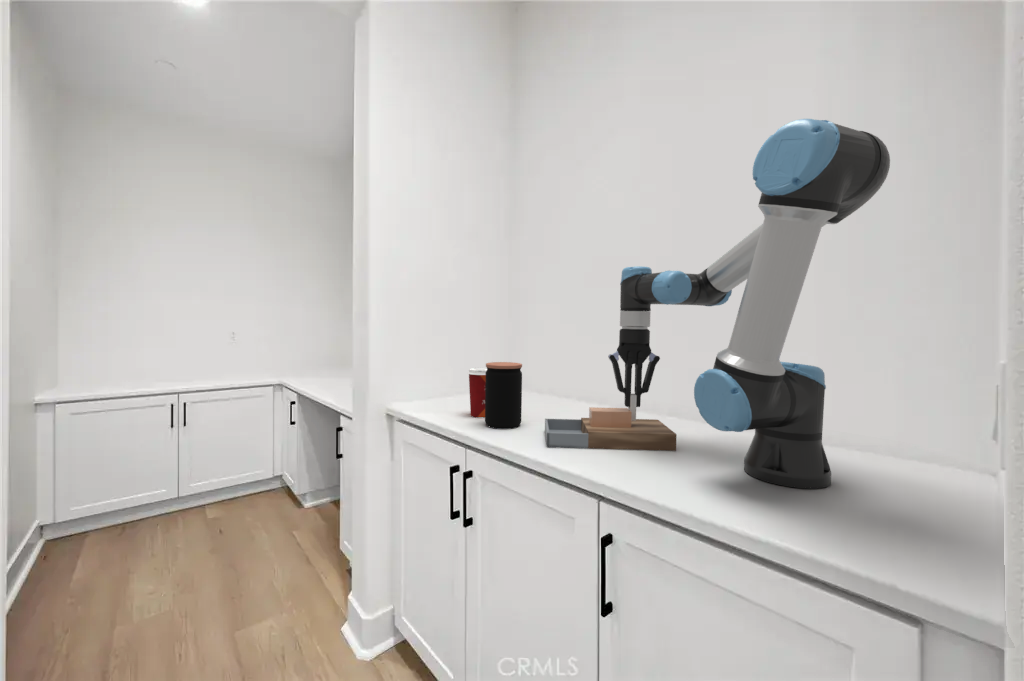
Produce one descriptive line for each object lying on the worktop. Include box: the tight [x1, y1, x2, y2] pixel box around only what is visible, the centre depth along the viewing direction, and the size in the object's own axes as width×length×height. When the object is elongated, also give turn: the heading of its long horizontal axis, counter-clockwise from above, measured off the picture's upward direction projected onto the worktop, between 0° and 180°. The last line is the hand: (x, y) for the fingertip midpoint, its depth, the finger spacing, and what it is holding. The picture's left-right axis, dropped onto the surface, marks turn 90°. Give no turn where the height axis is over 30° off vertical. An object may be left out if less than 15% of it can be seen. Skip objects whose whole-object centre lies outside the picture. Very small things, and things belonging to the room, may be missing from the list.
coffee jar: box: [484, 361, 523, 429], centre depth 133 cm, size 11×11×18 cm
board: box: [580, 417, 677, 452], centre depth 118 cm, size 16×21×4 cm
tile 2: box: [608, 407, 632, 428], centre depth 118 cm, size 5×5×4 cm
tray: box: [544, 418, 589, 449], centre depth 118 cm, size 16×10×4 cm, turn 178°
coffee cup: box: [467, 367, 487, 418], centre depth 145 cm, size 8×8×15 cm
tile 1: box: [588, 406, 612, 427], centre depth 118 cm, size 5×5×4 cm
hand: (631, 419), depth 118 cm, fingers closed
